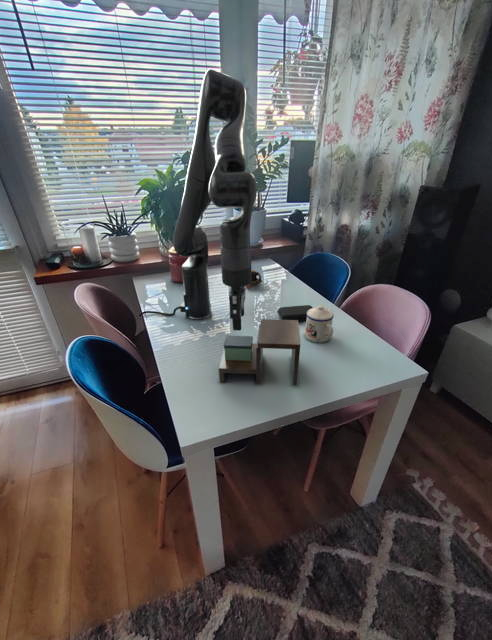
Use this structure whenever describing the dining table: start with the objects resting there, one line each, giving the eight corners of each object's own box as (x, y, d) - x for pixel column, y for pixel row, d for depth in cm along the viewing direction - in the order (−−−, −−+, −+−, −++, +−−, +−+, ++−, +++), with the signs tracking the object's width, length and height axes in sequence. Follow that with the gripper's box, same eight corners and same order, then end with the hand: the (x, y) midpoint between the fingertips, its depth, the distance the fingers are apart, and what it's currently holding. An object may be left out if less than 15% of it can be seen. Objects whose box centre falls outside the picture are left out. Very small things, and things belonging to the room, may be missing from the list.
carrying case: (282, 325, 121) (320, 322, 124) (283, 318, 120) (321, 314, 122) (276, 313, 130) (311, 310, 132) (276, 306, 129) (312, 303, 131)
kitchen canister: (176, 273, 170) (171, 238, 160) (200, 274, 169) (196, 239, 159) (167, 282, 159) (161, 245, 150) (192, 283, 158) (188, 246, 148)
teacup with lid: (299, 333, 116) (302, 303, 110) (320, 328, 119) (324, 298, 113) (318, 349, 107) (322, 317, 101) (340, 343, 110) (346, 312, 104)
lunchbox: (224, 360, 93) (223, 345, 91) (227, 349, 98) (226, 335, 95) (251, 361, 93) (251, 346, 90) (252, 350, 98) (252, 336, 95)
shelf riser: (219, 382, 93) (216, 342, 85) (226, 355, 104) (224, 318, 97) (296, 385, 91) (300, 344, 84) (295, 358, 103) (298, 320, 95)
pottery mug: (265, 284, 158) (266, 272, 151) (256, 298, 155) (256, 287, 147) (243, 274, 161) (243, 263, 153) (234, 288, 157) (233, 277, 150)
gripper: (225, 255, 87) (228, 311, 96) (216, 273, 75) (221, 334, 84) (253, 256, 86) (254, 311, 95) (249, 273, 74) (250, 335, 83)
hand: (238, 322), depth 90 cm, fingers open, 8 cm apart
